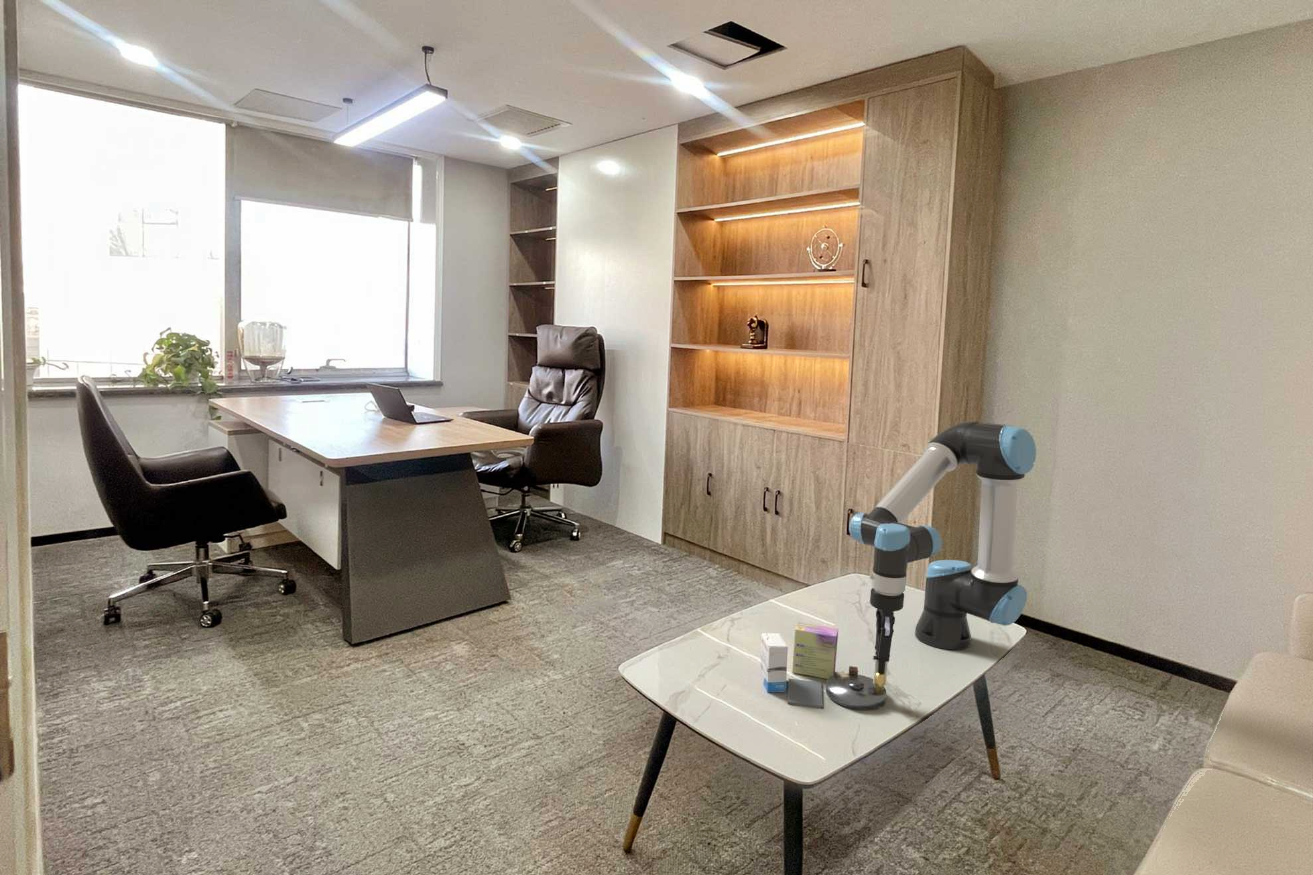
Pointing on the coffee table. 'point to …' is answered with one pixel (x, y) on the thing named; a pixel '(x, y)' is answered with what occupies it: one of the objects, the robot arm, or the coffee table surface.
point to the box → (815, 650)
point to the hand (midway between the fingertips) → (879, 683)
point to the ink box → (773, 662)
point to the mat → (805, 693)
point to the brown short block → (853, 670)
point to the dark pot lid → (856, 690)
